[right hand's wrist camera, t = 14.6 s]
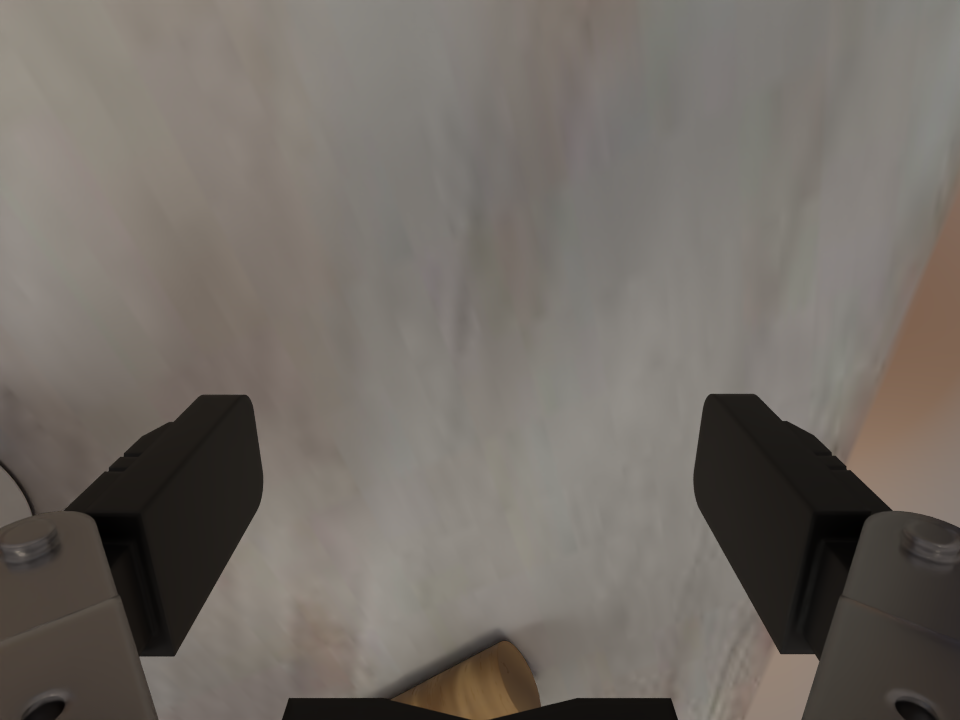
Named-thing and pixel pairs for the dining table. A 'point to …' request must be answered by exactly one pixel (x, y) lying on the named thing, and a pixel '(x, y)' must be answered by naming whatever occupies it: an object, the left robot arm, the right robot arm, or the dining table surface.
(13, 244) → the dining table surface
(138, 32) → the dining table surface
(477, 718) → the rod
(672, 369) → the dining table surface
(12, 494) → the left robot arm
